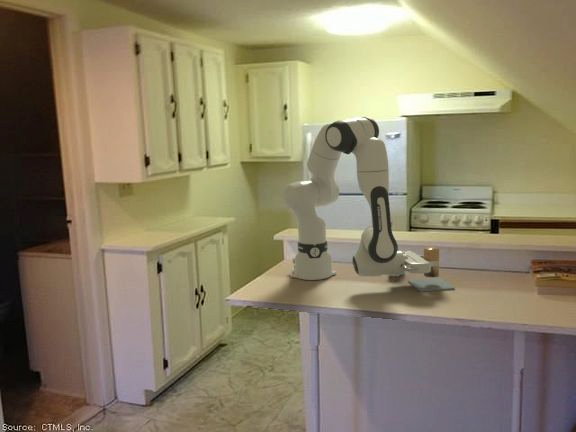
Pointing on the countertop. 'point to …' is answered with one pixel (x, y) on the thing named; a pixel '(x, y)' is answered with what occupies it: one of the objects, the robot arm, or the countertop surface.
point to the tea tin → (430, 255)
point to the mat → (430, 284)
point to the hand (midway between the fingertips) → (433, 260)
